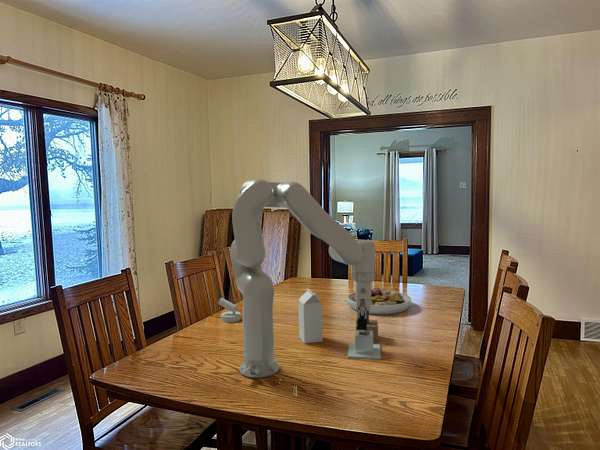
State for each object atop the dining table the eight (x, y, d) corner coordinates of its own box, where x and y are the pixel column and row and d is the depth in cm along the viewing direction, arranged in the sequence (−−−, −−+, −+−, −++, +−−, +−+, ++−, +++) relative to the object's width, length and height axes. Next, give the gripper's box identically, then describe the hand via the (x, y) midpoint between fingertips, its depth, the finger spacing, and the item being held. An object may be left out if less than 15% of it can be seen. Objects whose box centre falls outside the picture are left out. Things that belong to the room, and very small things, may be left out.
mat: (381, 359, 140) (381, 357, 140) (347, 357, 141) (347, 356, 141) (379, 345, 152) (379, 344, 152) (349, 344, 153) (349, 343, 153)
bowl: (424, 311, 193) (424, 294, 193) (367, 320, 182) (367, 302, 182) (387, 296, 221) (387, 282, 220) (336, 303, 210) (336, 288, 209)
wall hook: (223, 295, 192) (243, 296, 188) (224, 315, 192) (244, 317, 189) (213, 300, 184) (234, 301, 180) (214, 321, 184) (235, 323, 181)
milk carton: (304, 344, 155) (303, 293, 153) (299, 337, 162) (298, 289, 160) (322, 341, 157) (321, 291, 155) (316, 335, 164) (316, 287, 162)
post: (378, 342, 155) (377, 302, 153) (356, 342, 156) (355, 302, 155) (377, 335, 163) (377, 297, 161) (356, 334, 164) (356, 296, 162)
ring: (373, 353, 143) (373, 336, 142) (355, 353, 144) (355, 335, 143) (372, 347, 149) (372, 330, 148) (355, 346, 150) (355, 330, 149)
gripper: (375, 281, 135) (373, 334, 136) (373, 272, 152) (372, 318, 153) (351, 280, 136) (350, 332, 137) (352, 271, 153) (351, 317, 154)
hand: (361, 325), depth 145 cm, fingers open, 9 cm apart
